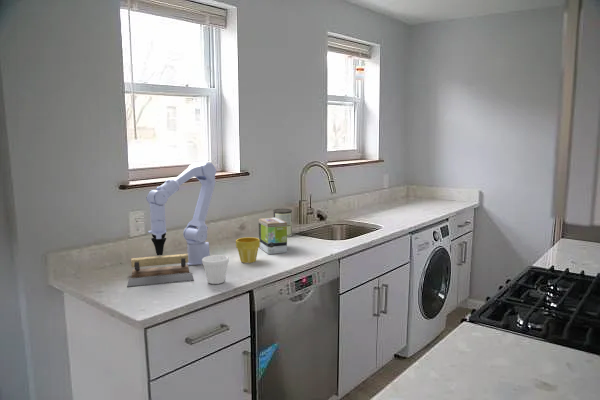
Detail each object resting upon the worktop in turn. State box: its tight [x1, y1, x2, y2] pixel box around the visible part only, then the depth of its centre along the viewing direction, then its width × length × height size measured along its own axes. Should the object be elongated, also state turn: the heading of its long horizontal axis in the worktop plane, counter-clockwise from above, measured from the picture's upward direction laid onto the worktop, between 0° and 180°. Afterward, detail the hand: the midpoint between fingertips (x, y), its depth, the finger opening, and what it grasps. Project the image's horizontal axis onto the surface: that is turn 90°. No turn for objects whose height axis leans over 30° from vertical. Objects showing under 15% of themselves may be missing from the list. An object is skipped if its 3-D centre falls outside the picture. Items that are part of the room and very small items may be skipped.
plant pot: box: [235, 236, 260, 264], centre depth 203 cm, size 10×10×10 cm
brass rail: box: [130, 253, 188, 268], centre depth 188 cm, size 22×3×3 cm, turn 107°
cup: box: [202, 254, 229, 285], centre depth 175 cm, size 10×10×9 cm
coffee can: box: [272, 208, 293, 238], centre depth 254 cm, size 10×10×14 cm
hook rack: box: [131, 256, 190, 279], centre depth 188 cm, size 22×8×6 cm, turn 107°
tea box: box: [258, 217, 288, 255], centre depth 222 cm, size 15×10×15 cm, turn 22°
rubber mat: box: [126, 272, 194, 288], centre depth 178 cm, size 24×9×1 cm, turn 107°
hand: (159, 252), depth 187 cm, fingers open, 7 cm apart
